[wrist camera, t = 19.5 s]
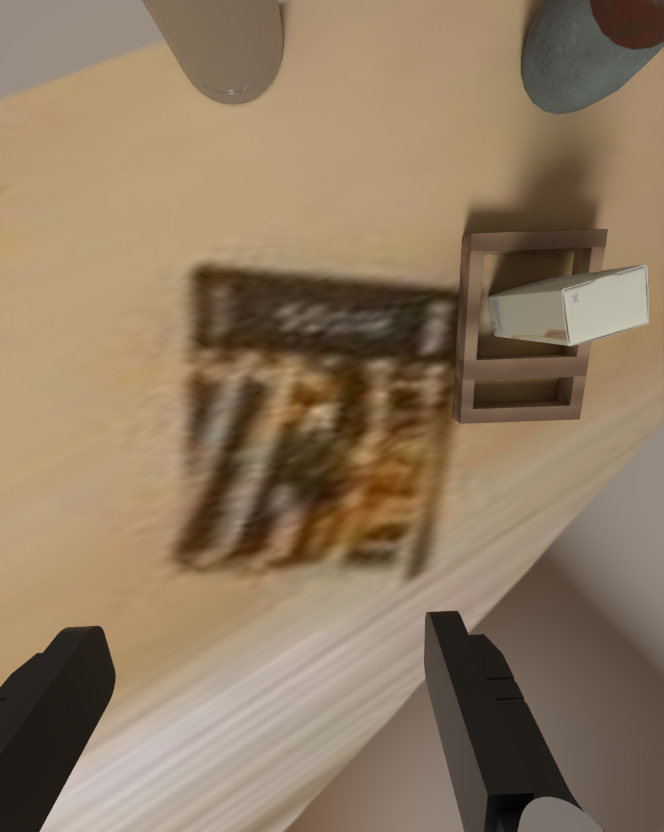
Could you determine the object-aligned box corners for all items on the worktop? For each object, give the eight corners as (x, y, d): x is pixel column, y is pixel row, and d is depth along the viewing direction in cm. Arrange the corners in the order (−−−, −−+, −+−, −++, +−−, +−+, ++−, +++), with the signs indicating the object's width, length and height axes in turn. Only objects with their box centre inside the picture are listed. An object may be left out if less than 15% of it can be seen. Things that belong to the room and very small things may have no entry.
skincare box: (493, 337, 40) (564, 349, 28) (486, 295, 39) (557, 289, 27) (555, 320, 39) (653, 324, 28) (549, 276, 38) (650, 262, 26)
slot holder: (462, 238, 37) (471, 233, 35) (589, 234, 37) (607, 228, 35) (452, 417, 42) (460, 423, 39) (565, 412, 42) (579, 419, 40)
